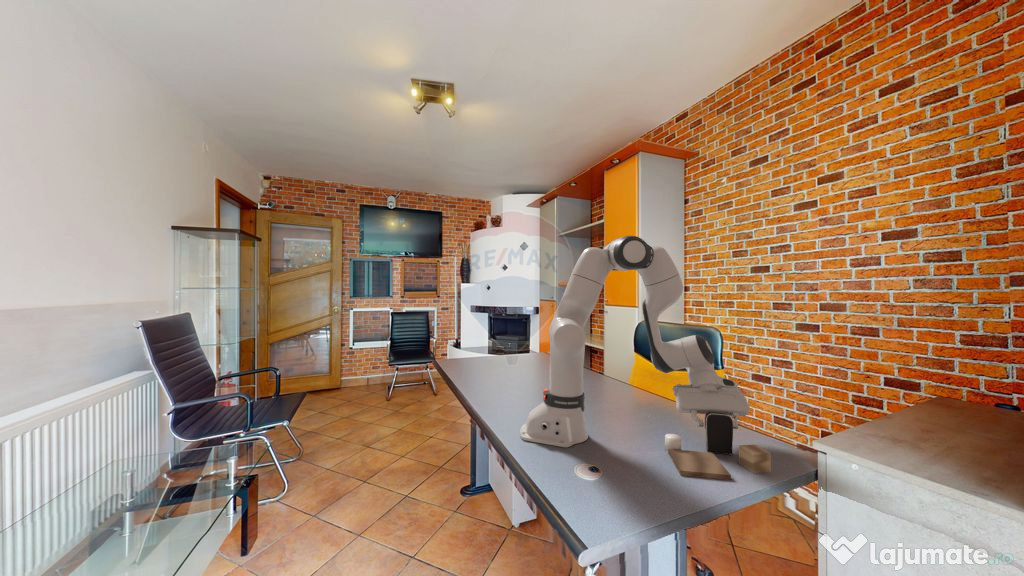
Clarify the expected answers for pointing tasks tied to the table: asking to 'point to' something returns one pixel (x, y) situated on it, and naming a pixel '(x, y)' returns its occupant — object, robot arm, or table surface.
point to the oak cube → (755, 458)
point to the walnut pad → (698, 464)
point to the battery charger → (719, 433)
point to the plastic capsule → (672, 442)
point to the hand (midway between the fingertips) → (717, 427)
